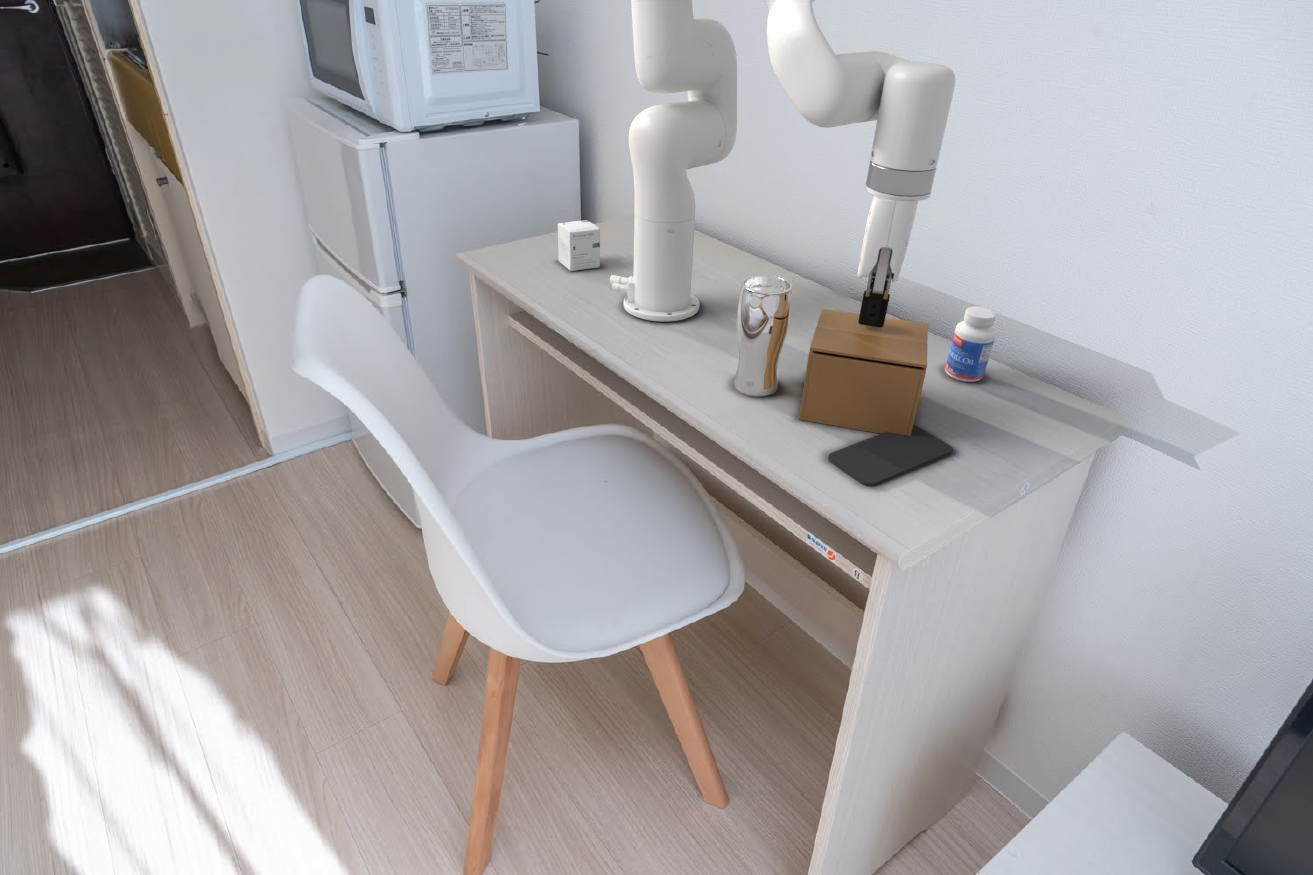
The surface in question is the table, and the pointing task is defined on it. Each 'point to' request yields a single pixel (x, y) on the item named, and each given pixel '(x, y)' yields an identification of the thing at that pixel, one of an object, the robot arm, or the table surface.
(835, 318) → the flap
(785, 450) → the table surface
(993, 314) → the pill bottle
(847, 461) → the phone
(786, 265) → the table surface
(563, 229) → the white cardboard box
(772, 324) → the beer glass
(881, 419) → the carton
